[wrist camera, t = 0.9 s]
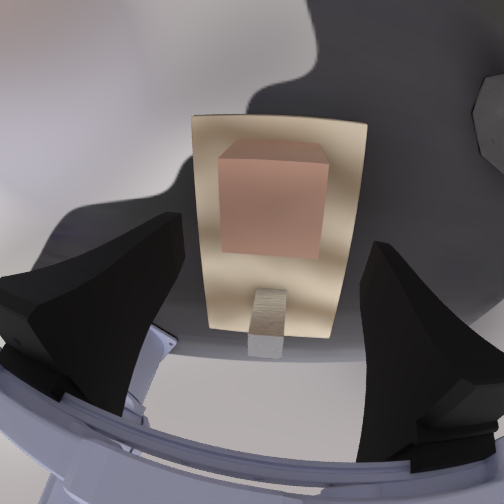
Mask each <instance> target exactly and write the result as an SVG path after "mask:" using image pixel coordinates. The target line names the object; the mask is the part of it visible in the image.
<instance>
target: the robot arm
mask: <svg viewBox="0 0 504 504" xmlns="http://www.w3.org/2000/svg"><path fill="white" fill-rule="evenodd" d="M184 259H185V249H184V239H183V228H182V217H181V213H172V212H165V213H163V214H161V215H158V216H156V217H154V218H153V219H151V220H149V221H147V222H145V223H143V224H141V225H140V226H138V227H136V228H134V229H132V230H131V231H129V232H127V233H125V234H123V235H121V236H119V237H117V238H115V239H113V240H112V241H110V242H108V243H106V244H104V245H102V246H100V247H98V248H96V249H93V250H91V251H89V252H86V253H84V254H82V255H79V256H77V257H74V258H71V259H69V260H66V261H63V262H60V263H58V264H55V265H51V266H48V267H45V268H41V269H37V270H34V271H30V272H25V273H20V274H15V275H10V276H5V277H1V278H0V336H1V337H2V338H3V340H4V341H5V342H6V344H5V345H4V347H3V348H1V347H0V432H1V433H3V435H4V436H6V437H7V438H8V439H9V440H10V441H11V442H12V443H14V444H15V445H16V446H17V447H18V448H20V449H21V450H22V451H23V452H24V453H25V454H27V455H28V456H29V457H31V458H32V459H33V460H34V461H36V462H37V463H38V464H40V465H41V466H42V467H44V468H45V469H47V470H48V471H49V472H51V474H50V476H49V479H48V481H47V483H46V486H45V488H44V491H43V493H42V496H41V498H40V501H39V503H38V504H504V436H503V437H500V438H498V439H496V440H495V439H494V433H493V432H496V431H497V430H498V428H499V427H498V421H497V420H498V419H499V418H500V417H501V416H503V415H504V352H502V351H500V350H499V349H497V348H496V347H495V346H493V345H492V344H490V343H489V342H488V341H486V340H485V339H484V338H482V337H481V336H480V335H478V334H477V333H476V332H475V331H473V330H472V329H471V328H470V327H469V326H467V325H466V324H465V323H464V322H463V321H461V320H460V319H459V318H458V317H457V316H456V315H455V314H454V313H453V312H452V311H451V310H450V309H449V308H448V307H447V306H445V305H444V304H443V303H442V302H441V301H440V300H439V299H438V297H437V296H436V295H435V294H434V293H433V292H432V291H431V290H430V289H429V288H428V287H427V286H426V284H425V283H424V282H423V281H422V280H421V279H420V278H419V276H418V275H417V274H416V273H415V272H414V271H413V269H412V268H411V267H410V266H409V265H408V264H407V262H406V261H405V260H404V259H403V258H402V257H401V255H400V254H399V253H398V252H397V251H396V250H395V249H394V248H393V247H392V246H391V245H390V244H389V243H383V242H377V241H374V243H373V246H372V249H371V252H370V255H369V258H368V261H367V264H366V267H365V270H364V273H363V276H362V279H361V281H360V310H361V318H362V326H363V334H364V342H365V351H366V364H367V374H366V396H365V408H364V417H363V425H362V432H361V438H360V444H359V449H358V454H357V459H356V463H344V462H343V463H342V462H320V461H305V460H295V459H286V458H277V457H269V456H262V455H256V454H251V453H245V452H240V451H234V450H229V449H224V448H220V447H215V446H211V445H207V444H203V443H198V442H195V441H191V440H188V439H184V438H181V437H177V436H174V435H170V434H167V433H164V432H161V431H158V430H155V429H152V428H150V425H149V422H148V418H147V417H145V416H144V415H143V414H144V411H145V409H146V408H145V407H144V406H142V404H143V402H144V399H145V397H146V395H147V392H148V390H149V387H150V385H151V382H152V380H153V377H154V375H155V373H156V370H157V368H158V365H159V363H160V362H161V361H162V360H163V359H164V357H165V356H166V355H167V354H168V353H169V352H170V351H171V350H172V349H173V347H174V346H175V345H176V344H177V342H178V341H177V339H176V338H174V337H172V336H171V335H169V334H167V333H166V332H164V331H162V330H161V329H159V328H157V327H156V326H154V325H152V322H153V320H154V318H155V316H156V315H157V313H158V311H159V309H160V307H161V306H162V304H163V302H164V300H165V299H166V297H167V295H168V293H169V291H170V290H171V288H172V286H173V284H174V283H175V281H176V279H177V277H178V274H179V272H180V270H181V267H182V264H183V262H184ZM142 452H145V453H147V454H150V455H153V456H156V457H159V458H162V459H165V460H168V461H171V462H174V463H178V464H181V465H185V466H188V467H192V468H195V469H199V470H203V471H207V472H212V473H216V474H221V475H225V476H230V477H235V478H240V479H246V480H252V481H258V482H265V483H272V484H281V485H292V486H303V487H321V488H324V489H323V490H322V491H321V494H319V495H315V496H311V495H302V494H294V493H287V492H283V491H277V490H271V489H264V488H259V487H254V486H248V485H243V484H237V483H232V482H227V481H222V480H217V479H213V478H209V477H204V476H201V475H197V474H193V473H190V472H186V471H182V470H179V469H175V468H172V467H169V466H166V465H163V464H160V463H157V462H154V461H151V460H148V459H146V458H143V457H140V454H141V453H142Z"/></svg>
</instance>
